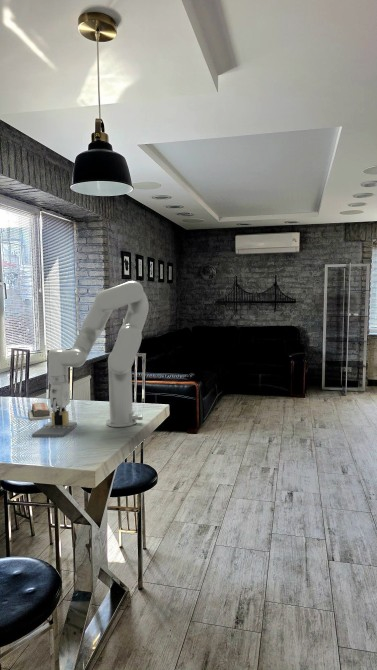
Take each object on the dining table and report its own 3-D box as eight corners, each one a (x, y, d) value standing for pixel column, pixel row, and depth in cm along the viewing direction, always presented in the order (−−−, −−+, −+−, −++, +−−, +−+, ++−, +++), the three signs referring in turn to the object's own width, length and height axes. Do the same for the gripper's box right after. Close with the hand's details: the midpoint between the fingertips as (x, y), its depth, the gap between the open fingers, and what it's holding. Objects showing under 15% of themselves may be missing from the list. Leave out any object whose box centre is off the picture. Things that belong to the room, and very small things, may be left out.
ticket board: (71, 429, 177) (71, 426, 177) (62, 437, 167) (62, 433, 167) (42, 429, 178) (42, 426, 178) (32, 437, 168) (32, 433, 168)
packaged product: (27, 403, 209) (49, 401, 213) (28, 413, 210) (49, 411, 213) (29, 411, 193) (53, 408, 196) (29, 421, 193) (53, 419, 197)
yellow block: (77, 425, 184) (76, 410, 183) (72, 429, 178) (71, 414, 177) (49, 424, 185) (48, 410, 184) (43, 428, 179) (42, 413, 178)
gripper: (60, 382, 172) (61, 429, 173) (74, 376, 188) (75, 418, 189) (41, 382, 172) (43, 429, 173) (57, 376, 188) (59, 418, 190)
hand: (60, 423), depth 181 cm, fingers closed on yellow block, 3 cm apart
